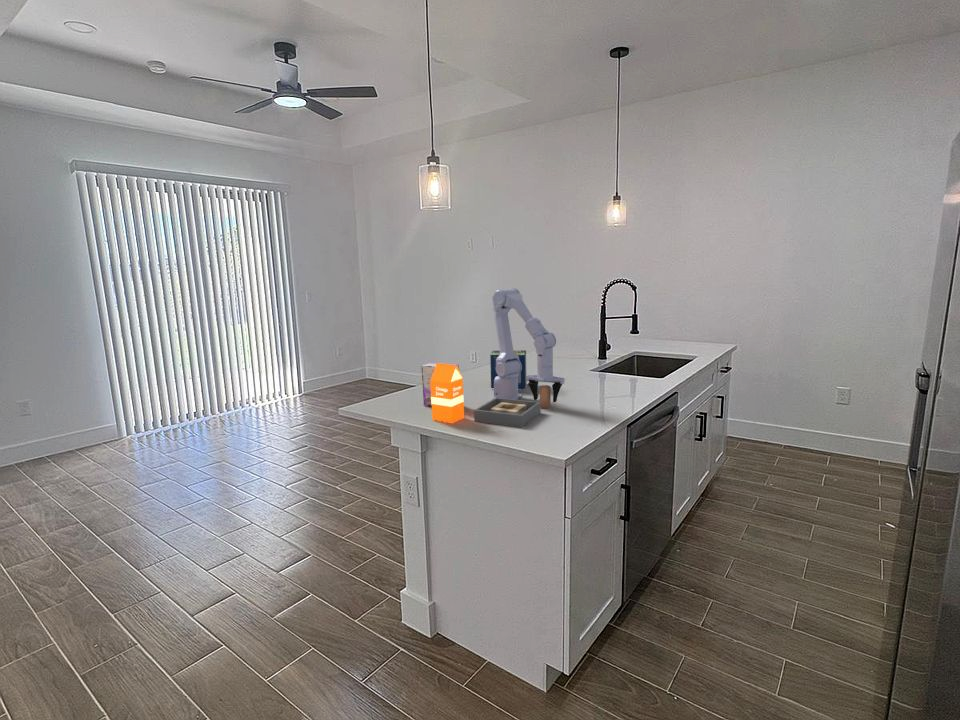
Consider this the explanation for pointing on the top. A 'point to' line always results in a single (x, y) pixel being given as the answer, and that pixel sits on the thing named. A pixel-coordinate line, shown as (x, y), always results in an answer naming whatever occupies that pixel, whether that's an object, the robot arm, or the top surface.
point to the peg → (545, 396)
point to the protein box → (495, 354)
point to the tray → (505, 418)
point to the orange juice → (447, 393)
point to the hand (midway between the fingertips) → (545, 400)
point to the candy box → (428, 381)
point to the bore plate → (509, 408)
